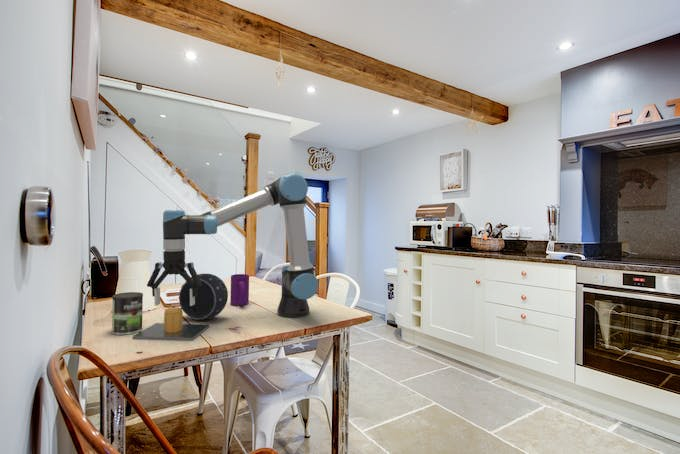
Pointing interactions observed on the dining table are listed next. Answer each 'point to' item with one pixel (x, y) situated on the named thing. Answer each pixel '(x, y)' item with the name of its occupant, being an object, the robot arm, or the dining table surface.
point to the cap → (173, 320)
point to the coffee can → (127, 313)
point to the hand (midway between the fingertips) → (174, 305)
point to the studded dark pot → (204, 298)
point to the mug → (239, 290)
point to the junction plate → (158, 333)
